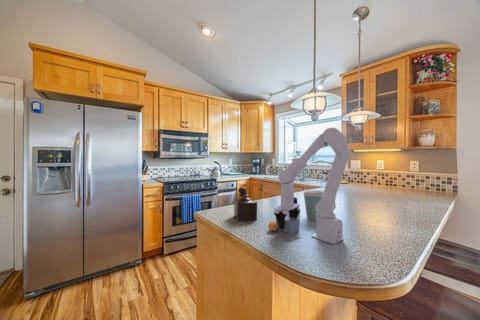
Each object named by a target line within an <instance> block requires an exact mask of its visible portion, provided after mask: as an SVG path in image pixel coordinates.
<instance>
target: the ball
mask: <svg viewBox="0 0 480 320" xmlns="http://www.w3.org/2000/svg"><path fill="white" fill-rule="evenodd" d="M267 226H268V229H269V230H270V231H272V232H274V231H276V230H278V229H277V224H276V221H270V222H269V223H268V225H267Z"/></svg>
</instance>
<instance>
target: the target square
mask: <svg viewBox="0 0 480 320" xmlns="http://www.w3.org/2000/svg"><path fill="white" fill-rule="evenodd" d="M275 237H277V238H279V239H281V240H284V241H286V242H288V243H289V242H292V241H295V240H297V239H301V237H300V236H298V235H295V234H294V233H293V234H290V233H287V232H283V233H279V234H276V235H275Z"/></svg>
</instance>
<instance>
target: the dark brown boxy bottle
mask: <svg viewBox="0 0 480 320" xmlns="http://www.w3.org/2000/svg"><path fill="white" fill-rule="evenodd" d="M247 189H248V188H247V187H244V186H243V187H242V186H241V187H239V188H238V190H237V191H238V193H239V197H238V198H237V199H235V198H234V199H233V200H234V201H233V205H234V207H233V209H234V210H233V211H234V214H233V217H234V218H235V220H236V221H237V222H248V221H251V222H252V221H257V220H258V218H257V217H258V202H257V201H255V200H254V199H253V198H250V197H249V195H250V194H249V193H248V191H247Z"/></svg>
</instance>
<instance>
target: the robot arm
mask: <svg viewBox="0 0 480 320" xmlns="http://www.w3.org/2000/svg"><path fill="white" fill-rule="evenodd" d="M347 141H348V140H347V138H346V136H345V134H344V133H343V132H341V131H340V130H339V129H338V128H337V127H329V128H326V129H325V130H324V131H323V133H321V134H319V135H318V136H317V138H316V139H315V140H314V141H313V142H312V143H311V144H310V146H309V147H308V148H307V149H306V150H305V151H304V152H303V154H302V155H301V156H296V157H293V158H292V159H291V162H290V163H289V165H288V166H285V167H284V170H281V171H280V173H278V179H279V181H280V204H279V206H277V207H273V214H274V216H275V219H276V218H277V221H278V225H279V228H281V229H284V221H285V217H286V214H283V212H284V211H289V215H290V217H292V218H296V219H297V217H298V215H299V213H301V209H300V210H298V209H299V208H300V204H298V203H297V204H294V197H295V193H294V192H295V189H294V188H295V187H294V183H295V180H296V178H297V176H299V175H300V174H301V173H302V171H304V169H306V167H307V165H308V161H309V160H310V159H311V158H313V157H314V155H315V154H316V153H318V152H319V151H320V150H321V149H324V148H327V147H331V149H332V150H333V152H334V153H335V155H334V159H333V160H332V161H333V162H332V165H331V169H330V171H329V174H328V177H327V181H326V184H325V187H324V190H323V194H322V196H321V199H320V201H319V202H318V203H317V204H316V206H315V211H316V220H315V233H314V234H311V237H312V238H314V239H318V240H320V241H322V242H326V243H328V244H331V245H335V244H337V243H338V242H340V241H343V240H344V237H343V236H344V234H343V232H344V231H343V230H344V229H343V225H344V224H343V221H342V219H339V218H337V217H336V214H335V213H334V211H335V209H336V208H337V207H336V199H337V193H338V192H339V191H338V190H339V188H340V185H341V181H342V179H343V176H344V173H345V170H346V167H347V164H348V161H349V159H350V158H349V157H350V155H351V149H350V147H349V144H348V142H347Z"/></svg>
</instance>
